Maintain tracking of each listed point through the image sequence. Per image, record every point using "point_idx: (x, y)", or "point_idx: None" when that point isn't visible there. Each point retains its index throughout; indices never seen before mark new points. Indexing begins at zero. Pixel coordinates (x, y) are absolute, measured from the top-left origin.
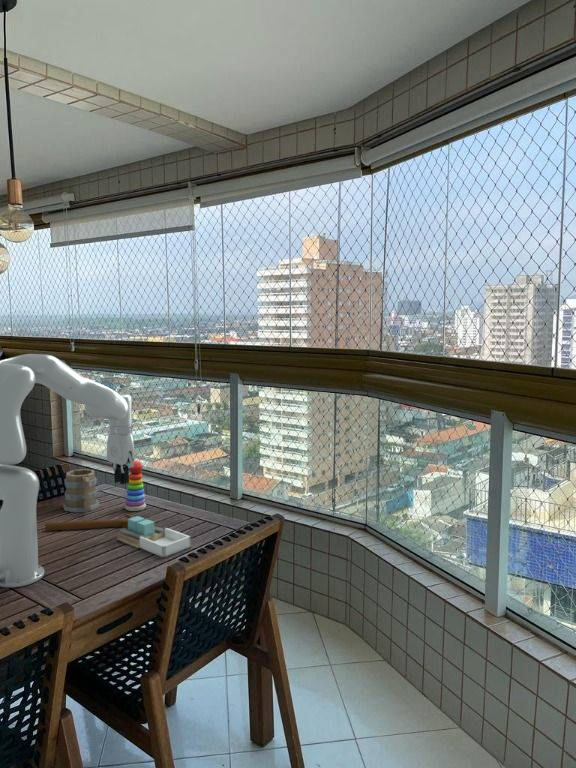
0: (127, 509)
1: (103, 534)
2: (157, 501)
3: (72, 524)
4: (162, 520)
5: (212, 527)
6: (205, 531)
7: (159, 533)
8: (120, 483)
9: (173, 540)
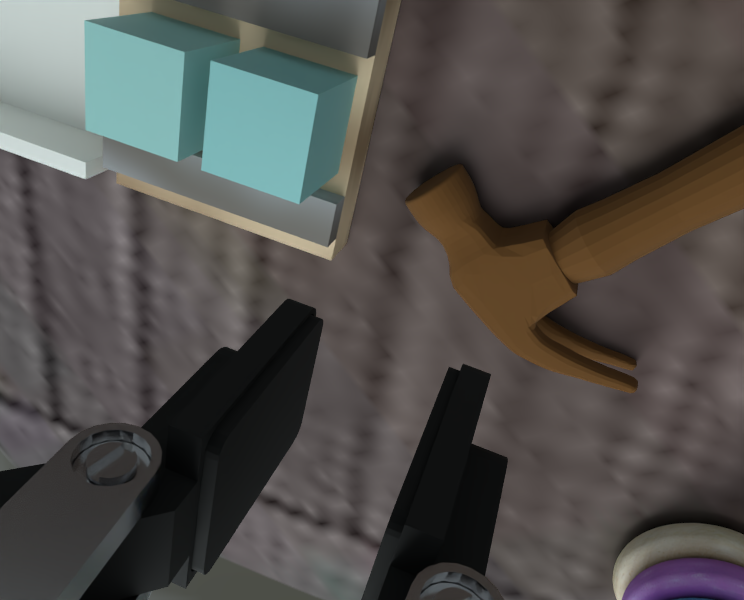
0: (729, 530)
1: (606, 6)
2: None
3: None
4: (364, 414)
5: (64, 383)
6: (49, 324)
7: None
8: (302, 306)
9: (49, 117)
